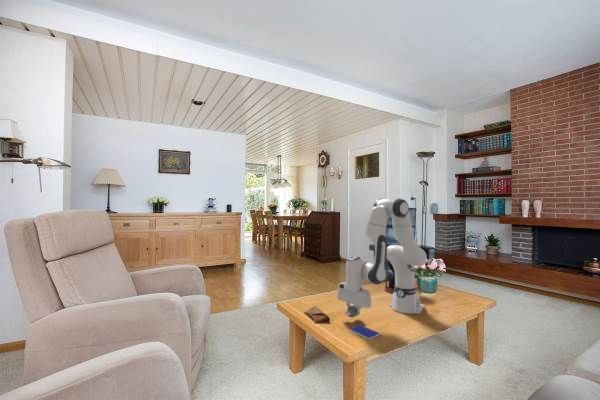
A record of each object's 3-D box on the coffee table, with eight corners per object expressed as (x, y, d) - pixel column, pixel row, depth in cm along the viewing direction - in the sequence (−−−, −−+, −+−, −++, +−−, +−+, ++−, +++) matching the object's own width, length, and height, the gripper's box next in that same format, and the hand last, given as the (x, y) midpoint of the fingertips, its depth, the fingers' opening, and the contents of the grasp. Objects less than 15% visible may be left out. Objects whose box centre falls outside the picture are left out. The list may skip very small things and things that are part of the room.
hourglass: (407, 289, 218) (408, 256, 218) (407, 295, 203) (407, 260, 203) (385, 287, 223) (386, 255, 224) (383, 292, 208) (384, 258, 209)
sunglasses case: (302, 312, 168) (308, 301, 170) (311, 316, 170) (317, 306, 172) (316, 324, 152) (322, 312, 153) (325, 329, 154) (331, 317, 155)
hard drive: (349, 328, 145) (369, 337, 136) (359, 324, 150) (379, 332, 141) (349, 331, 145) (369, 340, 135) (359, 327, 150) (379, 335, 141)
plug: (355, 311, 162) (355, 304, 162) (361, 313, 159) (361, 306, 159) (343, 316, 154) (343, 309, 154) (349, 319, 151) (349, 311, 151)
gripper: (373, 289, 152) (373, 315, 152) (342, 281, 167) (342, 305, 167) (367, 292, 148) (367, 318, 148) (335, 283, 162) (335, 308, 162)
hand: (353, 311), depth 157 cm, fingers closed on plug, 4 cm apart
